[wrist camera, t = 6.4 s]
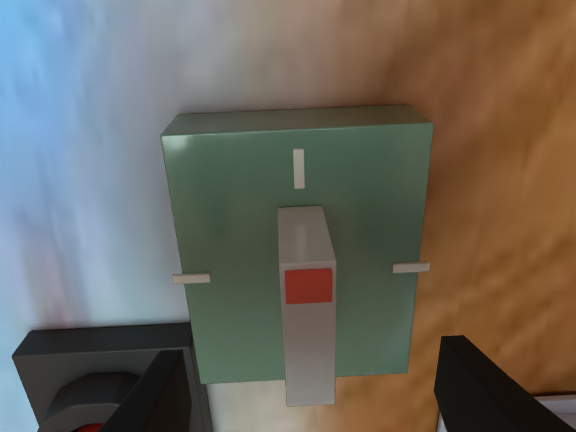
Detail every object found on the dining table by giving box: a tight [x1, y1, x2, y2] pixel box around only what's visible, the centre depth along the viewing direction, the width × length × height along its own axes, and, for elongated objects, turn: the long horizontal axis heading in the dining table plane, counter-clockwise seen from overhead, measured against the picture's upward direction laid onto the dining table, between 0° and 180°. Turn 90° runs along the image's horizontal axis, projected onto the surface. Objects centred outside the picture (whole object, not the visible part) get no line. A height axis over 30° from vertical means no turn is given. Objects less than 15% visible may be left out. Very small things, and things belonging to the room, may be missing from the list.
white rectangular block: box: [277, 206, 337, 407], centre depth 15 cm, size 6×2×4 cm, turn 2°
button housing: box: [12, 323, 213, 432], centre depth 22 cm, size 8×9×4 cm
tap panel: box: [160, 105, 434, 384], centre depth 18 cm, size 10×11×3 cm
